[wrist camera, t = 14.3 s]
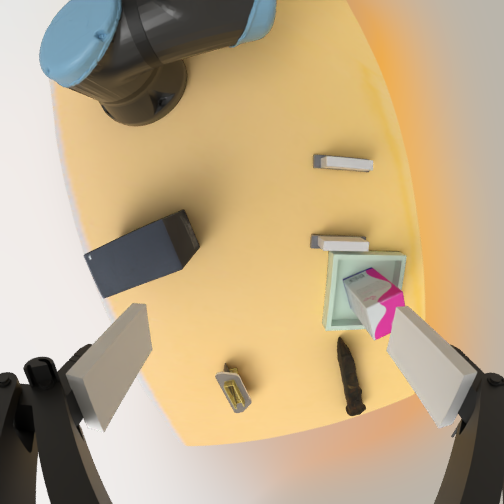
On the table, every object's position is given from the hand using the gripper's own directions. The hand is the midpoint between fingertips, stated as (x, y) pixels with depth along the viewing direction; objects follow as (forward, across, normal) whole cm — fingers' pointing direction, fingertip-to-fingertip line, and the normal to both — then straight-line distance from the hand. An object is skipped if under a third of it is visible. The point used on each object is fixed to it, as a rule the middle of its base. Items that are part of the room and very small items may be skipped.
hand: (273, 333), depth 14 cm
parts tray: (+32, +17, -9) cm, 37 cm away
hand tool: (+32, +17, -27) cm, 45 cm away
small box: (+32, -17, -2) cm, 36 cm away
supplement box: (+31, +17, -9) cm, 37 cm away
